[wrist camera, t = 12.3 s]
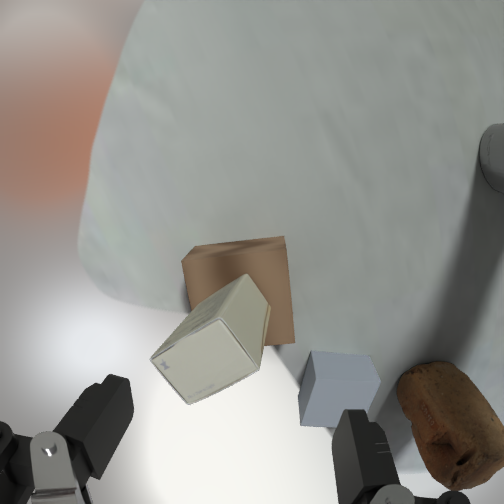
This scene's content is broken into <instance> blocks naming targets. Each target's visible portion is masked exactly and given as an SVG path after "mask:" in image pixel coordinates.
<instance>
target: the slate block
mask: <svg viewBox="0 0 504 504" xmlns="http://www.w3.org/2000/svg"><path fill="white" fill-rule="evenodd" d="M380 383H381V381H380V378H379V376H378V374H377V372H376V369H375V367H374V365H373V363H372V361H371V358H370V356H369V355H357V354H344V353H332V352H321V351H311V353H310V356H309V360H308V364H307V367H306V371H305V374H304V378H303V381H302V385H301V388H300V391H299V394H298V402H299V413H300V425H301V426H313V427H337V425H338V423H339V420H340V418H341V415H342V413H343V411H344V410H345V409H364V410H365V411H366V414H367V412H368V410H369V408H370V405H371V403H372V401H373V399H374V397H375V394H376V392H377V390H378V388H379V385H380Z"/></svg>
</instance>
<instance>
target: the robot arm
mask: <svg viewBox="0 0 504 504" xmlns="http://www.w3.org/2000/svg"><path fill="white" fill-rule="evenodd" d="M480 163H481V167H482V171H483V173H484V176H485V178H486V180H487V181H488V183H489V184H490V185H491V186H492V187H493V188H494V189H495V190H497V191H499V192H502V193H504V123H502V124H494V125H492V126H490V127H489V128H488V129H487V130H486V131H485V133H484V134H483V137H482V140H481V144H480ZM133 413H134V406H133V399H132V393H131V387H130V381H129V379H127V378H124V377H120V376H116V375H113V374H109V375H108V376H107V377H106V378H105V379H104V381H103V382H102V383H101V384H98V383H94V384H93V385H91V386H89V387H88V388H86V389H85V390H84V391H83V393H82V394H81V395H80V396H79V399H77V400H76V402H75V403H74V405H73V406H72V407H71V408H70V409H69V411H68V412H67V413H66V414H65V416H64V417H63V418H62V420H61V421H60V422H59V424H58V425H57V426H56V428H55V429H54V430H53V431H52V432H50V431H46V432H41V433H39V434H37V435H36V436H35V437H34V438H32V437H26V436H21V435H17V434H14V433H13V432H12V430H11V428H10V426H9V425H8V424H6V423H4V422H1V421H0V504H27V502H28V500H29V498H30V496H31V502H32V504H93V501H92V498H91V495H90V492H89V489H88V485H87V481H88V479H89V477H90V476H91V477H93V478H96V479H98V480H100V479H101V477H102V474H103V473H104V471H105V469H106V467H107V465H108V463H109V461H110V459H111V458H112V456H113V454H114V452H115V450H116V448H117V446H118V445H119V443H120V441H121V439H122V437H123V435H124V433H125V431H126V430H127V428H128V426H129V424H130V422H131V420H132V417H133ZM332 455H333V462H334V470H335V478H336V486H337V493H338V502H339V504H470V501H469V499H468V497H467V496H466V495H464V494H463V493H462V492H459V491H453V490H452V491H447V492H445V493H443V494H442V495H441V496H440V497H439V498H438V499H436V498H424V497H417V496H413V494H412V492H411V491H410V490H409V489H407V488H406V487H404V486H401V484H400V481H399V477H398V474H397V471H396V467H395V464H394V461H393V457H392V454H391V453H390V448H389V445H388V444H387V438H386V435H385V432H384V431H383V429H382V428H381V427H380V426H379V425H378V424H377V423H376V422H369V421H368V417H367V414H366V411H365V410H364V409H345V410H344V411H343V413H342V415H341V418H340V420H339V423H338V425H337V428H336V430H335V433H334V435H333V439H332ZM34 489H35V493H33V491H34Z"/></svg>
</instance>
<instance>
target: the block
mask: <svg viewBox="0 0 504 504" xmlns="http://www.w3.org/2000/svg"><path fill="white" fill-rule="evenodd" d="M397 397H398V400H399V403H400V405H401V407H402V409H403V412H404V414H405V416H406V418H407V419H409V420H411V422H412V425H411V428H412V432H413V436H414V438H415V442H416V445H417V447H418V450H419V453H420V455H421V457H422V459H423V461H424V464H425V466H426V468H427V470H428V471H429V473H430V474H431V476H432V477H433V478H434V479H435V480H436V481H438V482H439V483H441V484H442V485H444V486H445V487H446V488H448V489H449V490H451V491H452V490H453V491H460V490H463V489H471V488H473V487H475V486H478V485H480V484H483V483H485V482H487V481H488V480H489V479H490V478H491V477H492V476H493V474H495V473H496V472H497V471H498V470H500V469H501V468H502V467H504V426H503V425H502V423H501V421H500V419H499V418H498V416H497V415H496V413H495V411H494V410H493V409H492V407H491V406H490V404H489V403H488V401H487V400H486V399H485V397H484V396H483V395H482V393H481V392H480V391H479V389H478V388H477V387H476V386H475V384H474V383H473V382H472V381H471V380H470V378H469V377H468V376H467V375H466V374H465V373H463V372H461V371H460V370H459V369H458V368H457V367H456V366H455V365H454V364H452V363H448V362H441V361H435V362H431V363H430V364H421V365H416V366H415V367H413V368H411V369H410V370H409V371H406V372H405V373H404V374H403V375H402V377H401V379H400V381H399V384H398V387H397Z"/></svg>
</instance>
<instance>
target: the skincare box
mask: <svg viewBox="0 0 504 504" xmlns="http://www.w3.org/2000/svg"><path fill="white" fill-rule="evenodd" d="M270 311H271V307H270V305H269V304H268V302H267V301H266V299H265V298H264V296H263V295H262V293H261V292H260V290H259V289H258V288H257V286H256V285H255V283H254V282H253V280H252V279H251V278H250V276H249V275H248V274H244V275H242V276H241V277H239V278H237V279H236V280H234V281H233V282H231V283H229V284H228V285H226V286H225V287H223V288H221V289H220V290H218V291H217V292H215V293H214V294H212V295H211V296H209V297H208V298H206V299H205V300H203V301H202V302H201V303H199V304H198V305H197V306H196V307H195V308H194V309H193V311H192V312H191V313H190V314H189V315H188V316H187V317H186V318H185V320H184V321H183V322H182V323H181V324H180V325H179V326H178V327H177V328H176V330H175V331H174V332H173V333H172V334H171V335H170V336H169V338H168V339H167V340H166V341H165V342H164V343H163V344H162V345H161V346H160V348H159V349H158V350H157V351H156V352H155V353H154V354H153V355H152V357H151V358H150V361H151V363H152V364H153V365H154V366H155V368H156V369H157V370H158V371H159V373H160V374H161V375H162V376H163V378H164V379H165V380H166V381H167V382H168V384H169V385H170V386H171V387H172V388H173V389H174V391H175V392H176V393H177V394H178V395H179V396H180V397H181V398H182V400H183V401H184V402H185V403H186V404H188V405H190V404H193V403H195V402H198V401H200V400H202V399H205V398H207V397H209V396H211V395H213V394H215V393H218V392H220V391H222V390H223V389H226V388H228V387H230V386H232V385H233V384H235V383H237V382H239V381H241V380H243V379H245V378H247V377H248V376H250V375H252V374H254V373H255V372H257V371H259V369H260V364H261V358H262V354H263V349H264V343H265V338H266V333H267V327H268V322H269V317H270Z"/></svg>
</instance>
